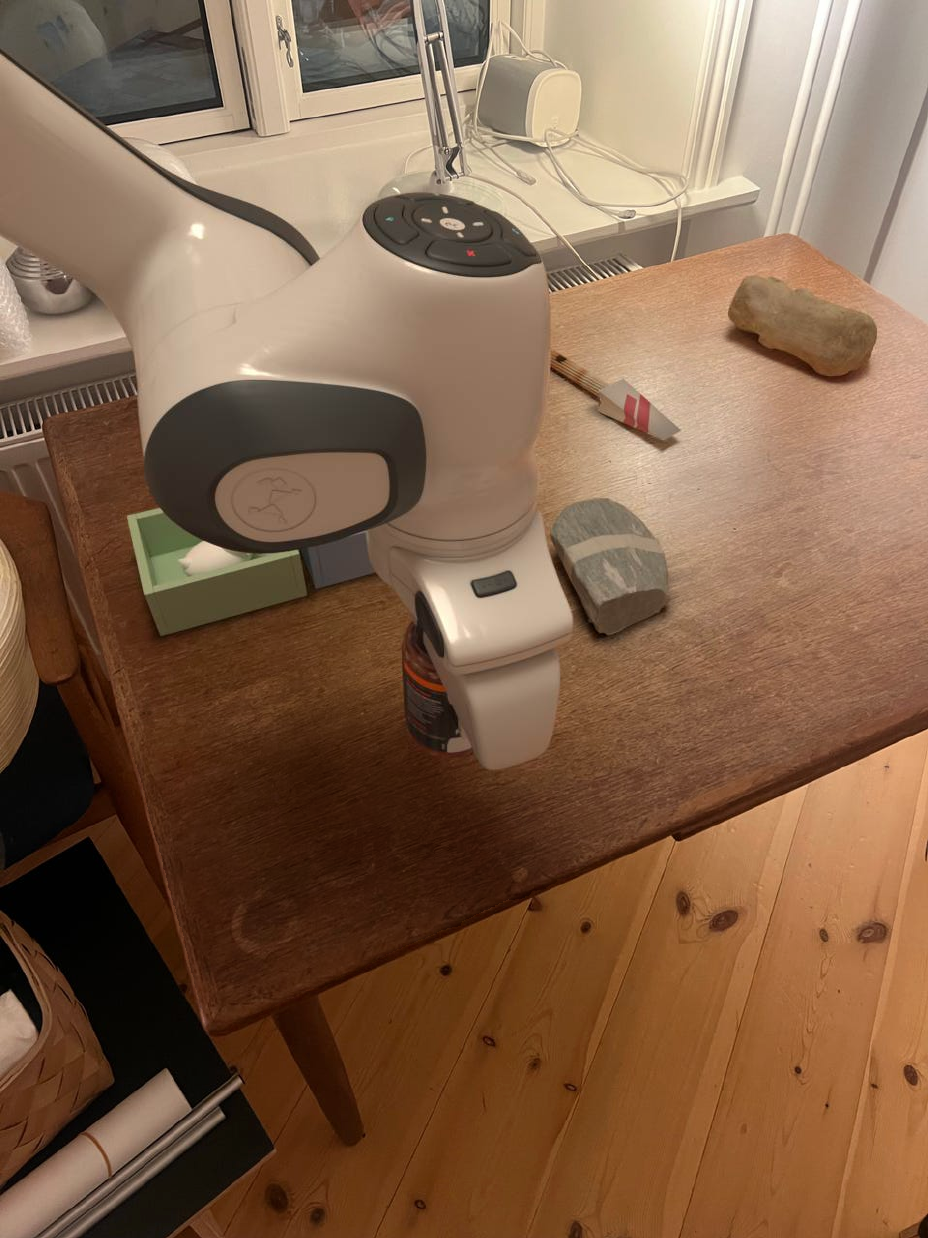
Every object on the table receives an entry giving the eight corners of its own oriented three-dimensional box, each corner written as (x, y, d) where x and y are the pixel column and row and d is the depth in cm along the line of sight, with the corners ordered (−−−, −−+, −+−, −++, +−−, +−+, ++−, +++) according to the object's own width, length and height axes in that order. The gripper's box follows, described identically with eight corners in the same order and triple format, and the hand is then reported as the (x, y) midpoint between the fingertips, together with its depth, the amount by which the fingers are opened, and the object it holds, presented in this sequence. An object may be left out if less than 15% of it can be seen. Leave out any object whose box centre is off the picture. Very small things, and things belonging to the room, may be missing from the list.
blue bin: (315, 589, 86) (307, 547, 82) (285, 511, 93) (276, 468, 89) (431, 557, 89) (429, 514, 85) (393, 483, 96) (390, 440, 92)
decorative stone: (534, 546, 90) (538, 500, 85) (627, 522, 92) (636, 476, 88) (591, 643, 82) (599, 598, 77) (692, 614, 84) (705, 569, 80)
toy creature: (275, 568, 87) (265, 520, 82) (196, 603, 84) (180, 554, 80) (255, 540, 90) (243, 491, 85) (177, 572, 87) (161, 524, 82)
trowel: (661, 430, 97) (539, 352, 108) (657, 452, 99) (538, 372, 110) (686, 417, 98) (564, 340, 109) (683, 438, 100) (563, 361, 111)
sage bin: (160, 636, 83) (144, 594, 78) (142, 558, 89) (126, 515, 85) (307, 595, 86) (299, 553, 82) (279, 522, 92) (271, 480, 88)
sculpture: (763, 283, 116) (748, 246, 108) (893, 330, 109) (889, 294, 100) (727, 345, 118) (710, 314, 109) (854, 396, 110) (846, 367, 101)
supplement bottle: (484, 770, 59) (491, 661, 51) (395, 753, 60) (387, 643, 52) (501, 696, 63) (509, 584, 55) (417, 681, 64) (412, 568, 55)
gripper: (335, 419, 53) (354, 583, 64) (464, 685, 41) (460, 834, 51) (438, 397, 55) (439, 560, 65) (591, 646, 42) (562, 798, 53)
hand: (449, 683), depth 58 cm, fingers closed on supplement bottle, 6 cm apart
